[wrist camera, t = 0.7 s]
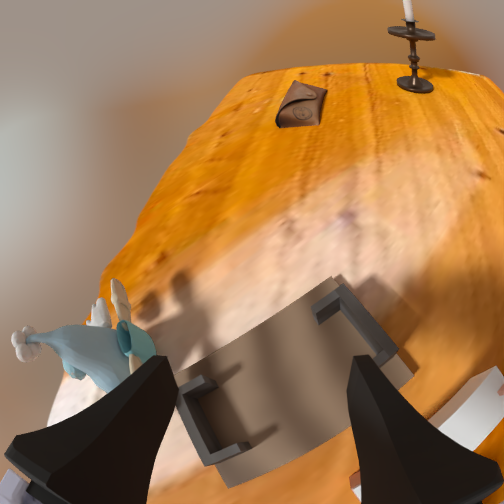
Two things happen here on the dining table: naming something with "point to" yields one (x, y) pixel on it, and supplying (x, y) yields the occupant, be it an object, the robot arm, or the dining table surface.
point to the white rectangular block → (466, 414)
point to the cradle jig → (282, 384)
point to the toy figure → (94, 343)
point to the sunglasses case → (300, 106)
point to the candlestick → (412, 51)
